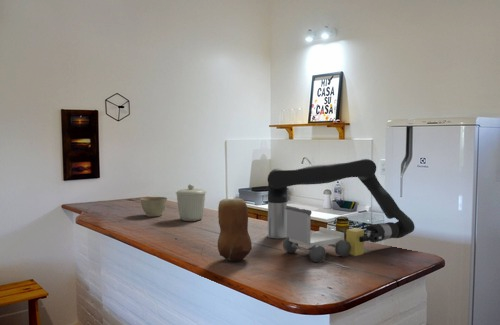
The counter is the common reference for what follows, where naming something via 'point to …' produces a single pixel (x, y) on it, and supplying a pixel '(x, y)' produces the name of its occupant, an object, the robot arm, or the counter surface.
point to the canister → (191, 203)
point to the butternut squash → (233, 229)
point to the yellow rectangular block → (355, 241)
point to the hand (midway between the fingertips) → (352, 237)
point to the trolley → (311, 236)
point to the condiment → (342, 225)
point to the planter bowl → (154, 205)
